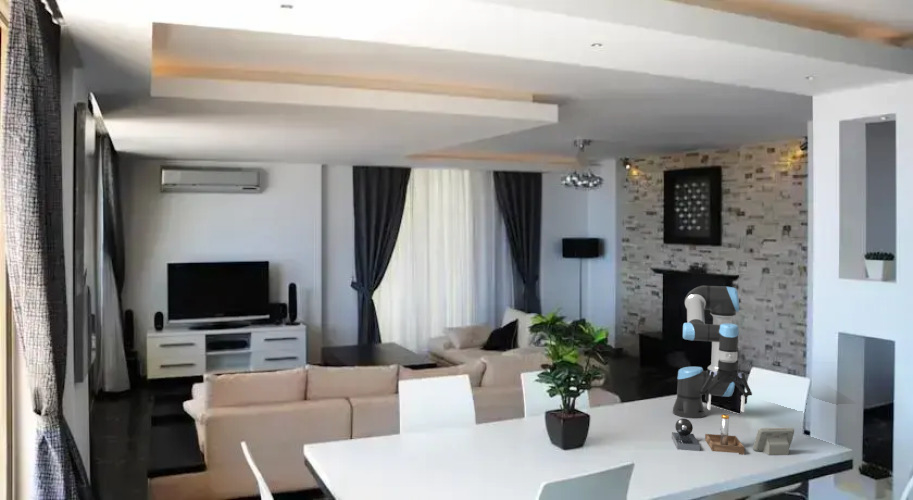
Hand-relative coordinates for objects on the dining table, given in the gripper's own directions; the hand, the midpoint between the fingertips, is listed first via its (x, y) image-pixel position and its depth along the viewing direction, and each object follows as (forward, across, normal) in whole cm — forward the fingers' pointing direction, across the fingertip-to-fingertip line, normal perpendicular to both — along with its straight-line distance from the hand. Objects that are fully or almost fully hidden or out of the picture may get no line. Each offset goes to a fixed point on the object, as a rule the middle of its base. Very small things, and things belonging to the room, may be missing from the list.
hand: (725, 410), depth 302 cm
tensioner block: (+16, -16, -2) cm, 23 cm away
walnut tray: (+16, 0, -1) cm, 16 cm away
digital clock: (+16, +19, -2) cm, 25 cm away
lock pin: (+15, 0, -1) cm, 15 cm away
